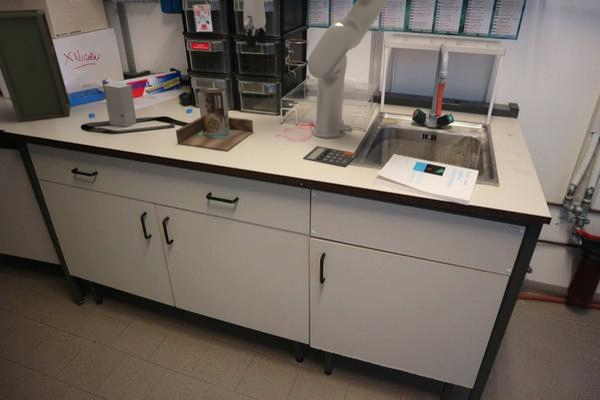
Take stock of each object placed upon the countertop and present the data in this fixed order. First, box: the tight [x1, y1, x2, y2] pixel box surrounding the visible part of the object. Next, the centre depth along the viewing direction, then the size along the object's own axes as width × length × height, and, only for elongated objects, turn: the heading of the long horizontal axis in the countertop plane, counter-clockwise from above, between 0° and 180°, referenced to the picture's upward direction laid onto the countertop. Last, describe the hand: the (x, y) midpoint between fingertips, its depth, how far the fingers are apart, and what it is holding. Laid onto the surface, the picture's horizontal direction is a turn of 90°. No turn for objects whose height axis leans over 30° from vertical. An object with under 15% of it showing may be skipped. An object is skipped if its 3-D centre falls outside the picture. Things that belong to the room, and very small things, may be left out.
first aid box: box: [0, 8, 71, 123], centre depth 167 cm, size 18×18×40 cm
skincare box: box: [103, 81, 137, 128], centre depth 162 cm, size 8×7×16 cm
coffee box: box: [197, 87, 230, 135], centre depth 150 cm, size 9×6×16 cm
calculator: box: [302, 145, 358, 168], centre depth 137 cm, size 12×1×15 cm
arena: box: [175, 116, 254, 152], centre depth 150 cm, size 20×20×5 cm
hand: (256, 45), depth 154 cm, fingers open, 9 cm apart
